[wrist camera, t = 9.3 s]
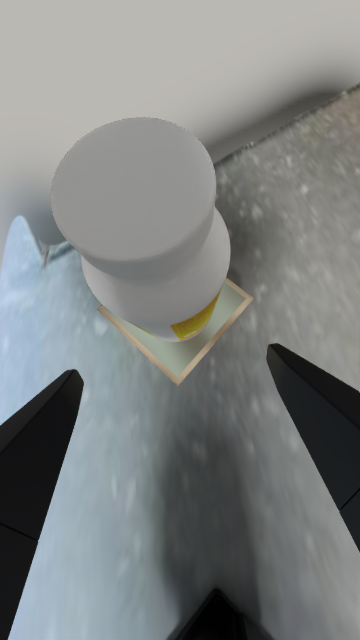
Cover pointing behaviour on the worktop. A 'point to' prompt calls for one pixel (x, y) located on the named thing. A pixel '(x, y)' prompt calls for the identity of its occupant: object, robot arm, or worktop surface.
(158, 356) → the oak frame
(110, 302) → the supplement bottle
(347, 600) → the worktop surface
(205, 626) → the robot arm
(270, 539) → the worktop surface
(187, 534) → the worktop surface
